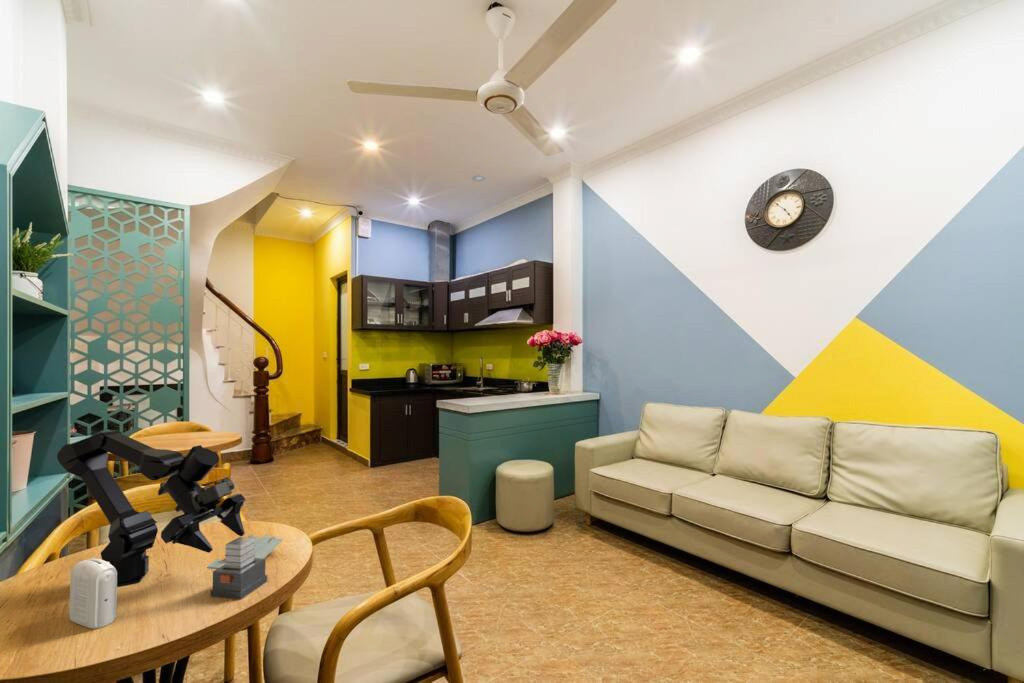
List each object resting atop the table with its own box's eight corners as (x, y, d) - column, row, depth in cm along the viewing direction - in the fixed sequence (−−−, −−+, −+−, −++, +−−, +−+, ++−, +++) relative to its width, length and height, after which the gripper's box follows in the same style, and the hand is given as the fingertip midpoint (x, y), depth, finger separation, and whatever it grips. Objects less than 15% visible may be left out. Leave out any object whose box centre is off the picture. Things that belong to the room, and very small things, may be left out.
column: (224, 584, 100) (224, 544, 101) (239, 575, 105) (239, 537, 105) (240, 585, 100) (240, 545, 100) (254, 576, 104) (254, 537, 104)
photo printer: (119, 620, 90) (121, 559, 91) (93, 632, 86) (95, 568, 87) (91, 610, 94) (92, 552, 95) (65, 621, 90) (66, 560, 91)
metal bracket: (244, 528, 125) (290, 531, 122) (249, 546, 126) (294, 549, 123) (201, 565, 111) (251, 569, 108) (207, 584, 113) (256, 589, 110)
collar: (209, 597, 99) (209, 572, 99) (238, 579, 107) (238, 556, 107) (240, 599, 97) (240, 574, 97) (267, 581, 105) (267, 558, 105)
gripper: (172, 481, 96) (214, 534, 93) (239, 462, 114) (276, 506, 111) (141, 516, 97) (183, 570, 94) (213, 491, 115) (250, 536, 113)
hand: (227, 542), depth 103 cm, fingers open, 9 cm apart
